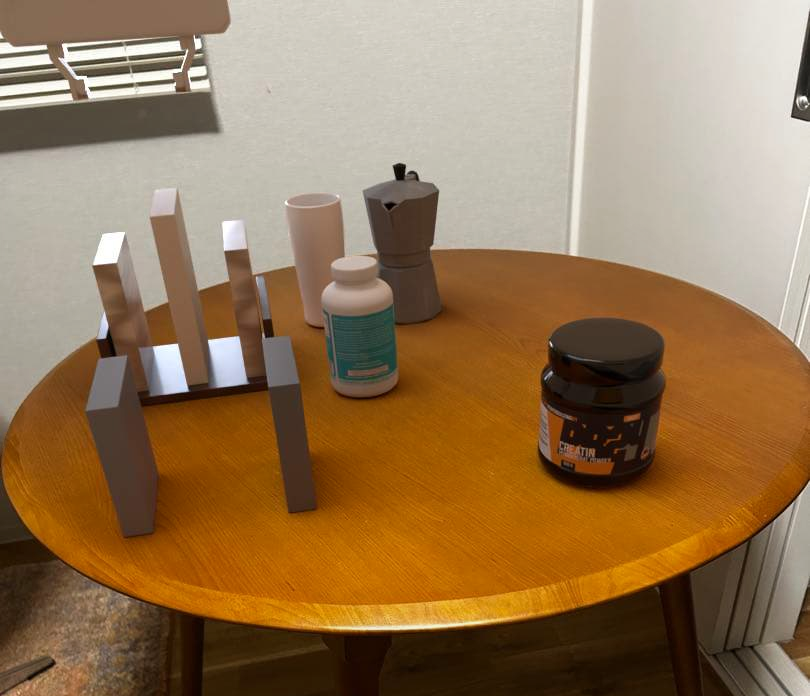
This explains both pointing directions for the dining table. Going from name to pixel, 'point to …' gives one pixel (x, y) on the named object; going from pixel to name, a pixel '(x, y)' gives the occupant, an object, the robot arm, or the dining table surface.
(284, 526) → the dining table surface
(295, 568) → the dining table surface
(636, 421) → the supplement container
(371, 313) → the pill bottle
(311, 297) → the drinking glass
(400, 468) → the dining table surface
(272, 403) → the grey books
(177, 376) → the book rack
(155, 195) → the white book
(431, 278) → the coffeepot
